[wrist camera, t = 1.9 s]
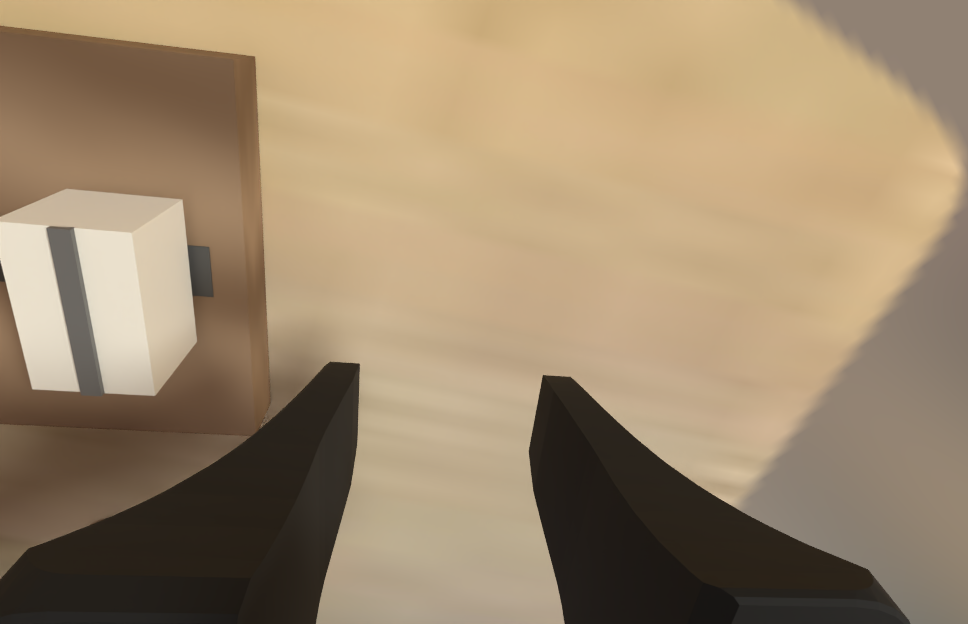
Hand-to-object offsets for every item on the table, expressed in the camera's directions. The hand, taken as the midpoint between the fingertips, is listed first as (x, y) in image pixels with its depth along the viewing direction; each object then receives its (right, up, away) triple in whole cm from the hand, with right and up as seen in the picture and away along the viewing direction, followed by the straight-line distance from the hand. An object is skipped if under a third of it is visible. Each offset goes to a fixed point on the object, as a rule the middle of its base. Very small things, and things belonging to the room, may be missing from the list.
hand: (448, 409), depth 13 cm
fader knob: (-9, +3, +4) cm, 11 cm away
